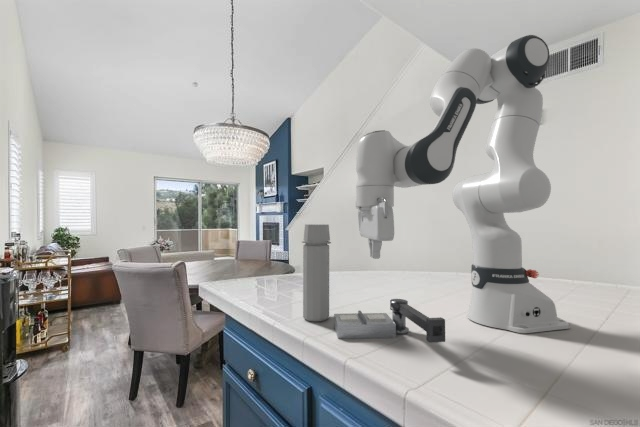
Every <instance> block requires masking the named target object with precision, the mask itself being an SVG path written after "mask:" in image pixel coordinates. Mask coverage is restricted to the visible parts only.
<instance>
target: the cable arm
mask: <svg viewBox="0 0 640 427" xmlns="http://www.w3.org/2000/svg"><path fill="white" fill-rule="evenodd" d="M389 301H390V302H389V305H390V307H389V308H390V309H389V310H391V311H396V312H400V313H401V314H403V315H404V316H405V317H406V318H407V319H408V320H409V321H411V323H414V324H415V325H416V326H418V327H419V328H421V329H422V330H423V331H425V332H426V342H428V343H433V344H434V343H445V342H446V319H445V318H443V317H440V316H439V317H429V316H427V315H425V314H424V313H422V312H421V311H419V310H417V309H416V308H414V307H412V306H411V305H410V304H409V301H408V300H406V299H402V298H391V299H390V300H389Z"/></svg>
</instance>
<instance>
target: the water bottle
mask: <svg viewBox="0 0 640 427" xmlns="http://www.w3.org/2000/svg"><path fill="white" fill-rule="evenodd" d="M303 231H304V232H303V233H304V234H303V240H302V241H301V243H302V244H303V245H302V246H303V247H302V250H303V251H302V253H303V257H302V258H303V260H302V263H303V266H302V267H303V268H302V271H303V272H302V273H303V274H302V276H303V277H302V281H303V282H302V285H303V286H302V290H303V291H302V317H303V319H304V320H306V321H307V322H311V323H312V322H313V323H317V322H319V323H320V322H325V321H326V320H328V319H329V318H330V245H329V244H332V242H331V237H330V236H331V235H330V225H329V224H324V223H322V224H316V223H315V224H306V223H305V224H304V230H303Z"/></svg>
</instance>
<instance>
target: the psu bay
mask: <svg viewBox="0 0 640 427" xmlns="http://www.w3.org/2000/svg"><path fill="white" fill-rule="evenodd" d="M333 316H334V317H333V323H334V324H333V327H334V330H335V334H336V336H337V339H377V338H378V339H385V338H387V339H388V338H389V339H390V338H391V339H393V338H397V334H396V324H395V322H394V321H393V320H392V318H391V317H390V315H388V313H387V312H372V313H371V312H366V313H365V312H364V313H363V312H362V311H361V310H358V311H357V313H354V312H353V313H334V314H333Z"/></svg>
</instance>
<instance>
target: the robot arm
mask: <svg viewBox="0 0 640 427" xmlns="http://www.w3.org/2000/svg"><path fill="white" fill-rule="evenodd" d="M549 60H550V49H549V46H548V44H547V43H546V41H545V40H544V39H543V38H541V37H539V36H537V35H534V34H528V35H525V36H522V37H520V38H517V39H515V40H513V41H511V42H510V43H509V44H508V45H505V47H502V48H501V49H500V50H498V51H496V52H495V53H493V54H492V55H491V56H489V54H488V53H487V52H486V51H484V50H483V49H480V48H474V47H473V48H469V49H466V50H463V51H461V53H459V54H458V55H457V56H456V57H455V58H454V59H453V60H452V61H451V62H450V64H449V65H448V66H447V68H446V69H445V70H444V71H443V73H442V74H441V76H440V77H439V78H438V80H437V81H436V83H435V85H434V87H433V88H432V91H431V93H430V96H429V101H428V102H429V105H430V107H431V110H432V111H433V113H434V114H435V115H437V116H438V118H437V121H436V123H435V125H434V126H433V129H432V130H431V131H430V133H429V134H427V135H426V136H424V137H422V138H421V139H420V140H418V141H416V142H413V143H412V144H410V145H406V144H404V143H402V142H400V141H399V140H397V139H396V138H395V137H394V136H393V135H392V133H391V131H389V130H385V129H384V130H373V131H372V132H368V133H366V134H364V135H363V136H362V137H361V138H360V139H359V140H358V142H357V149H356V158H355V161H356V162H355V163H356V164H355V170H356V174H357V181H356V185H355V188H356V189H355V209H358V210H357V217H358V229H359V234H360V237H363V238H367V240H368V241H367V242H368V248H369V257H371V258H372V259H373V260H378V259H380V258H381V250H382V245H383V242H390V241H394V238H395V221H394V220H395V219H394V218H395V217H394V210H393V208H394V206H395V205H394V204H395V202H394V201H395V192H394V191H395V187H397V188H402V189H403V188H404V189H406V188H411V187H420V186H423V185H437V184H439V183H442V182H443V181H445V180H446V179H447V178H448V177H449V176H450V175H451V174H452V171H453V168H454V166H455V160H456V154H457V150H458V147H459V144H460V142H461V140H462V138H463V136H464V134H465V131H466V129H467V128H468V126H469V123H470V121H471V119H472V117H473V114H474V112H475V109H476V107H477V105H483V104H484V105H485V104H488V103H492V102H493V101H494V100H496V101H497V108H496V111H495V115H494V117H493V121H492V124H491V127H490V129H489V133H488V137H487V140H486V143H485V148H484V149H485V153H486V154H487V156H488V157H489V158H490V159H491V160H492V161H494V162H493V163H494V164H493V168H492V170H491V171H490V172H487V173H482V174H481V173H480V174H475V175H471V176H469V177H466V178H464V179H463V180H461V181H459V182H458V183H456V185H455V186H454V188H453V191H452V202H453V203H454V205H455V206H456V208H457V209H458V210H459V211H460V212H461V213H462V214H463V215H464V217H465V220H466V222H467V224H468V227H469V229H470V234H471V240H472V264H471V266H470V268H471V270H470V271H471V272H470V273H471V286H472V287H471V288H472V289H471V290H472V291H471V297H470V302H469V303H470V304H469V308H468V312H467V314H466V317H467V318H468V320H470V321H472V322H474V323H477V324H479V325H483V326H487V327H490V328H496V329H502V330H507V331H511V332H514V333H518V334H531V333H539V332H540V333H541V332H548V331H549V332H551V331H559V330H568V329H570V328H571V327H570V324H569V322H567V321H566V320H564V319H562V318H560V317H559V316H558V314H557V308H556V304H555V303H554V301H553V299H551V297H549V296H548V295H547V294H545V293H544V292H542V290H540V289H538V288H537V287H535V285H533V284H532V283H530V279H529V278H532V279H538V277H539V275H540V274H539V272H538V271H537V270H536V269H525V267H523V258H522V257H523V255H522V254H523V253H522V251H523V250H522V249H523V248H522V242H523V241H522V238H521V236H520V234H519V233H518V232H516V231H515V230H513V229H512V227H510V226H509V224H508V222H507V221H506V218H505V214H513V213H523V212H528V211H531V210H535V209H538V208H541V207H543V206H544V205H545V204H547V202H548V201H549V200H548V199H550V196H551V190H552V186H551V185H552V184H551V182H550V179H549V177H548V176H547V174H546V173H545V172H544V171H543V170H541V169H540V168H538V167H537V165H536V163H535V161H534V151H535V145H536V142H537V136H538V133H539V130H540V125H541V122H542V121H541V120H542V116H543V108H544V107H543V104H544V99H543V94H542V92H541V91H540V90H539V89H538V88H536V87H537V86H539V85H540V84H541V83H542V82H543V81H544V79H545V75H546V73H545V72H546V71H547V69H548V66H549Z"/></svg>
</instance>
